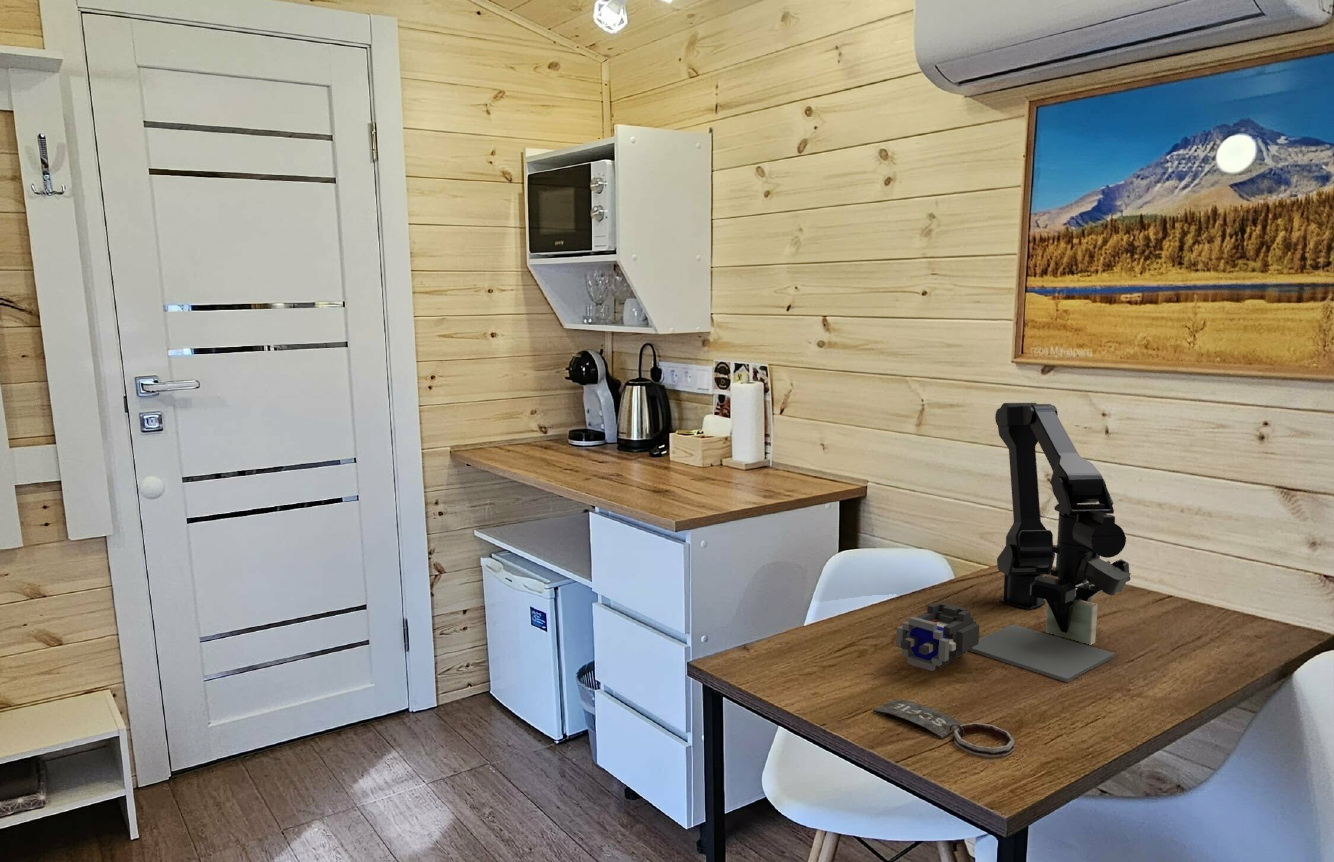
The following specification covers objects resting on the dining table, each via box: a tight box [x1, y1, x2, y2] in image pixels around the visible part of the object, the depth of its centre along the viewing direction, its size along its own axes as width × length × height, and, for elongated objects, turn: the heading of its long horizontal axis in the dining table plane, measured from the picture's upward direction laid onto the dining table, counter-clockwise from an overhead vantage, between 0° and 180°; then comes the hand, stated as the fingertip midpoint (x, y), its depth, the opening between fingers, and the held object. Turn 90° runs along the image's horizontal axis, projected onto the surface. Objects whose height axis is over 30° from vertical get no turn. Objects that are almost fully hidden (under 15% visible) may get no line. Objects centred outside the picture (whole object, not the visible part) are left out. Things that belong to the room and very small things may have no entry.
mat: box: [967, 624, 1116, 683], centre depth 147 cm, size 18×16×1 cm
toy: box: [895, 602, 980, 672], centre depth 142 cm, size 9×9×15 cm
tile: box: [1045, 600, 1099, 646], centre depth 154 cm, size 8×2×7 cm, turn 39°
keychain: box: [872, 698, 1016, 758], centre depth 120 cm, size 8×19×2 cm, turn 42°
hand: (1070, 629), depth 154 cm, fingers open, 4 cm apart
